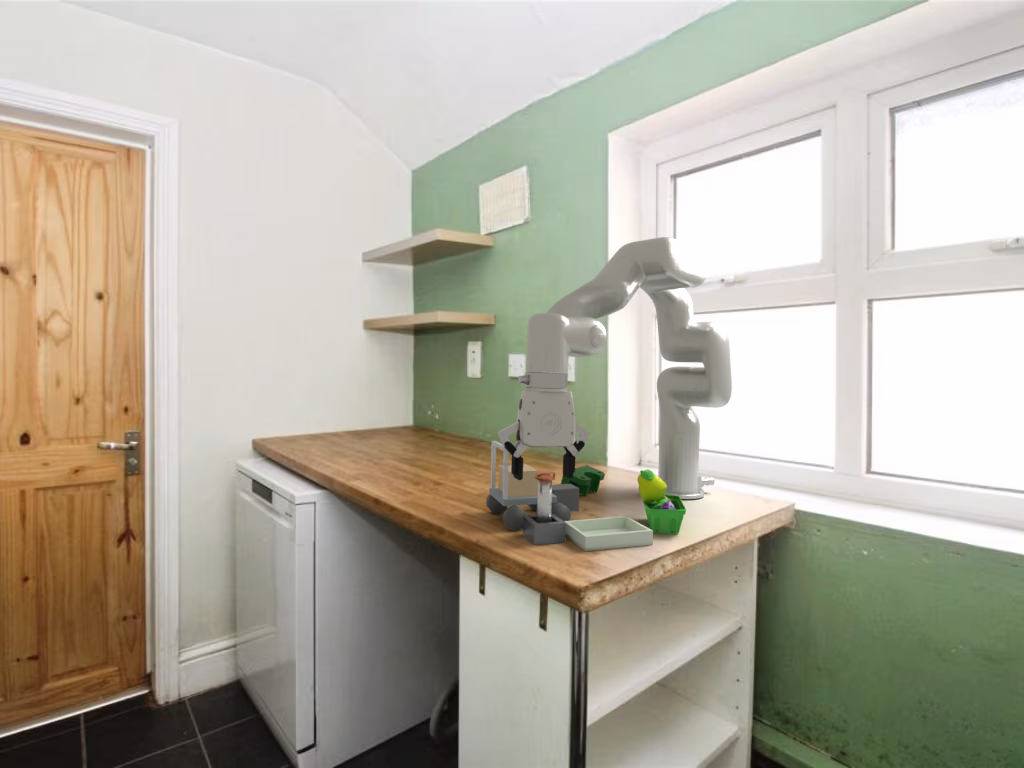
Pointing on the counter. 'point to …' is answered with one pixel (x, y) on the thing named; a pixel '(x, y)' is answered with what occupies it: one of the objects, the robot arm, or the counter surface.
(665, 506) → the fruit basket
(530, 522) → the bracket
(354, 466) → the counter surface
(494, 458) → the trolley
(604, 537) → the tray
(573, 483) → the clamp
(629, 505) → the counter surface
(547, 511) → the pin
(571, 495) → the grey rectangular block
